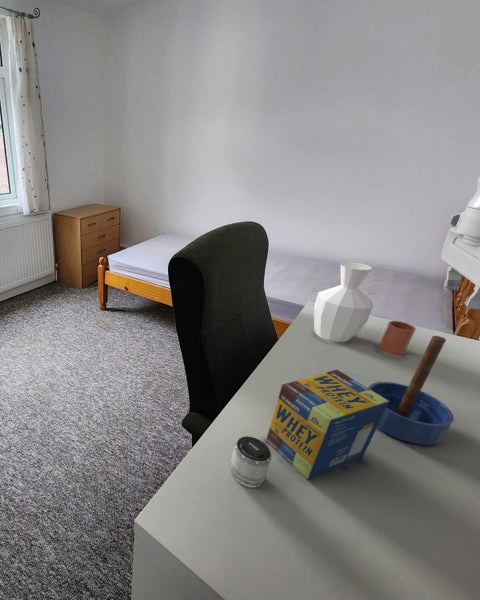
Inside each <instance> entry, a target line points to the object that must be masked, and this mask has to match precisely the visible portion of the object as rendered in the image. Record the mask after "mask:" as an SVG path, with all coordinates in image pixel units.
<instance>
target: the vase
mask: <svg viewBox="0 0 480 600" xmlns="http://www.w3.org/2000/svg"><path fill="white" fill-rule="evenodd" d="M372 269H373V268H372V266H370V265H368V264H365V263H361V262H355V261H342V262H340V284H339V285H336V286H334V287H330V288H327V289H325V290H322V291H318V293H317V296H316V300H315V303H314V306H313V312H314V313H313V321H314V322H313V323H314V324H313V330H314V333H315V334H316V335H317V336H318V337H320V338H322V339H323V340H326V341H328V342H329V341H330V342H335V343H346V342H348V341H350V340H351V339H352V338H353V337H355V336H356V335H357V334H358V333H359V332H360V331H361V330H362V328H363V327H364V326H365V325H366V324H367V322H368V320H369V318H370V314H371V312H372V310H373V308H374V305H373V302H372V300H371V299H370V298H369V297H368V296H367V295H365V294H364V293H363V292H362V291H361V290H360V289H358V287H359V286H360V285H361V284H362V282H363V280H365V279H366V277H367V276H368V275H369V273H370V272H371V271H372Z"/></svg>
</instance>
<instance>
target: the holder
mask: <svg viewBox="0 0 480 600" xmlns="http://www.w3.org/2000/svg"><path fill="white" fill-rule="evenodd" d="M387 323H388V324H387V325H386V328H385V330H384V332H383V335H382V338H381V340H380V342H379V345H378V348H379V349H380V350H381V351H383V352H385V353H387V354H390V355H393V356H394V355H395V356H404V355H405V354H406V352H407V349H408V347H409V344H410V343H411V341H412V338H413V336H414V334H415V332H416V330H417V329H416V327H415V326H414V325H412V324H410V323H407V322H404V321H399V320H390V321H389V322H387Z"/></svg>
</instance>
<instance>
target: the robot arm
mask: <svg viewBox="0 0 480 600" xmlns="http://www.w3.org/2000/svg"><path fill="white" fill-rule="evenodd" d="M448 225H449V226H450V228H449V230H448V232H447V234H446V236H445V239H444V242H443V245H442V248H441V251H440V260H441V261H443V262H444V263H445V264H447V265H448V267H447V269H446V279H445V280H446V281H445V282H444V284H443V287H444V288H445V289H447V290H448V291H458V290H459V289H460V287H461V285H462V281H461V280H462V277H464V278H465V279H467V280H469V281H470V282H471V283H472V284H474V287H473V292H472V293H471V295H470V296H469V295H467V296H466V298H465V301H464V302H463V304H464V305H465V307H467V308H468V309H471V310H480V176H479V177H478V179H477V188H476V191H475V193H474V195H473V197H471V199H470V200H469V201H468V203H467V204H466V206H465V208H464V210H463V211H461V212H458V213H454V214H453V215H451V217H450V220H449V222H448Z"/></svg>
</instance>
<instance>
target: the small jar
mask: <svg viewBox="0 0 480 600" xmlns="http://www.w3.org/2000/svg"><path fill="white" fill-rule="evenodd" d="M271 461H272V451H271V450H270V448H269V447H268V445H267V444H266V443H264V442H263V441H262V440H260V439H258V438H256V437H253V436H240V437H239V438H237V439H236V441H235V442H234V445H233V451H232V455H231V459H230V475H231V476H232V477H233V479H234V481H235V482H237V483H238V484H239V485H241V486H243V487H245V488H248V489H255V488H256V489H257V488H258V487H260V486H261V485H262V484H263V483H264V481H265V479H266V477H267V473H268V470H269V466H270V463H271ZM232 474H233V475H234V476H235V478H236V479H238V480H239V481H240V482H242V483H244V484H246V485H250V486H256V487H249V486H246V485H243V484H241V483H240V482H239V481H237V480H236V479H235V478H234V476H233V475H232ZM258 485H259V486H258Z"/></svg>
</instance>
